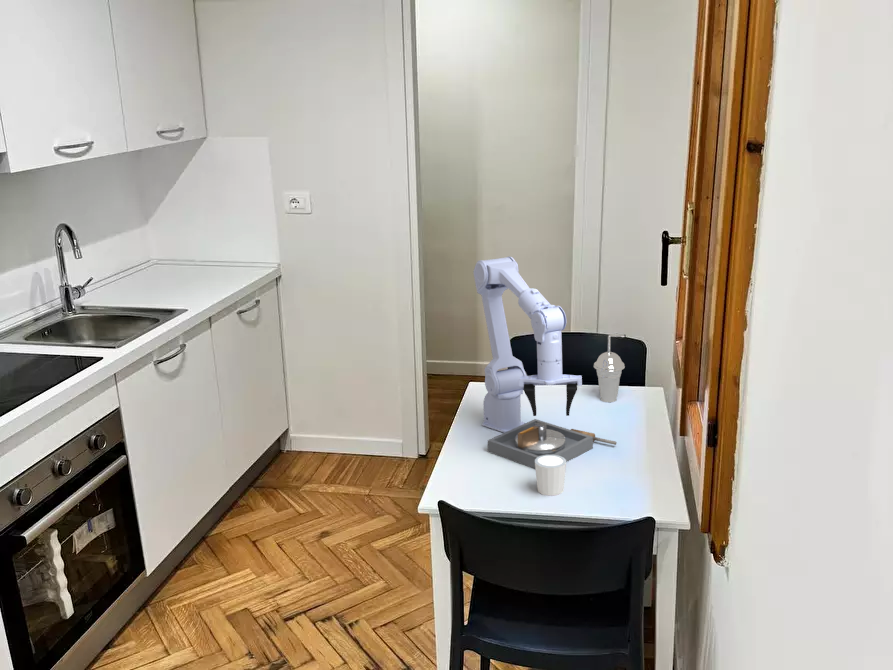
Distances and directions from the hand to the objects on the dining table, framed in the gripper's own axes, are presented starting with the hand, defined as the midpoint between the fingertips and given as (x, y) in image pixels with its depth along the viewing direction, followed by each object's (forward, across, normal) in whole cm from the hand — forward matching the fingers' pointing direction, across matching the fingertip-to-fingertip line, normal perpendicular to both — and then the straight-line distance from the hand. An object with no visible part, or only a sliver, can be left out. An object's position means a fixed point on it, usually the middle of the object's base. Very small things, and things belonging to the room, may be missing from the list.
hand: (551, 414), depth 196 cm
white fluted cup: (+11, 0, -18) cm, 21 cm away
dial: (+9, -3, +3) cm, 10 cm away
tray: (+10, -3, +3) cm, 11 cm away
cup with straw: (+10, +15, +38) cm, 42 cm away
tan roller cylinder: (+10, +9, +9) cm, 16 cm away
